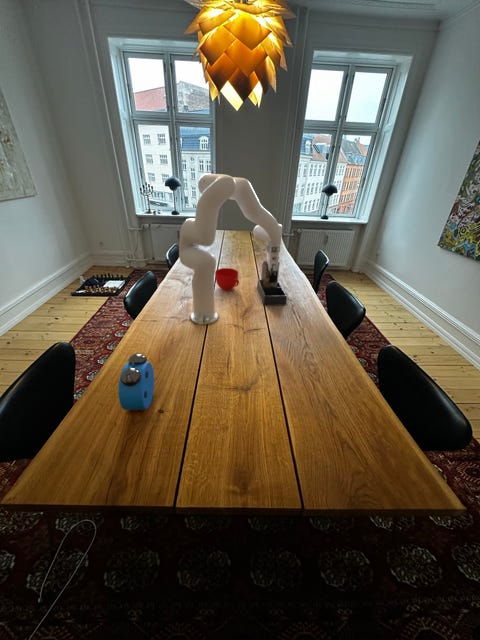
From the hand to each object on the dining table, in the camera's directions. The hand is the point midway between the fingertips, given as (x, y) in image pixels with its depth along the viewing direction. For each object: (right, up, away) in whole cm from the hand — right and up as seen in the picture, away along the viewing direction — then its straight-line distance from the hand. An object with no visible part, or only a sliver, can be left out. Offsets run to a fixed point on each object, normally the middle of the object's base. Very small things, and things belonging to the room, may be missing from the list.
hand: (269, 279), depth 144 cm
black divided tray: (0, -9, -1) cm, 9 cm away
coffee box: (0, -6, +3) cm, 7 cm away
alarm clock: (-46, -47, -68) cm, 95 cm away
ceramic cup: (-23, -6, +4) cm, 24 cm away
